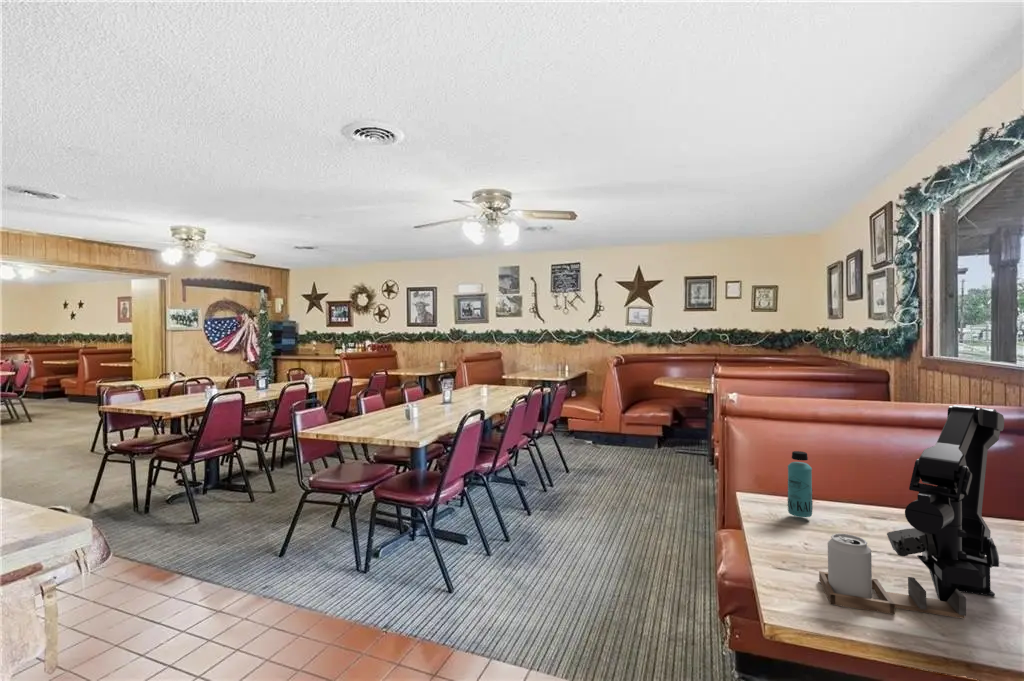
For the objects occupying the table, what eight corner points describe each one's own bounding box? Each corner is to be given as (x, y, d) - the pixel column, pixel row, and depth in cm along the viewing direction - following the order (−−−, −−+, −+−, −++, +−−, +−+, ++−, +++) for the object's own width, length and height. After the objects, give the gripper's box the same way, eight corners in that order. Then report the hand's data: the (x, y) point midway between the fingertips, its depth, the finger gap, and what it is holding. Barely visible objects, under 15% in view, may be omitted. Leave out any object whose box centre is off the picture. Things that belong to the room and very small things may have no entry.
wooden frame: (946, 598, 100) (945, 577, 100) (972, 626, 90) (971, 603, 90) (819, 580, 108) (819, 560, 108) (830, 604, 98) (830, 582, 98)
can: (873, 609, 97) (872, 548, 97) (828, 598, 101) (827, 540, 101) (871, 593, 103) (870, 535, 103) (828, 583, 107) (827, 528, 107)
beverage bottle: (789, 513, 150) (788, 448, 151) (815, 518, 146) (813, 451, 146) (785, 519, 145) (784, 452, 145) (811, 524, 141) (810, 455, 141)
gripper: (877, 501, 108) (877, 572, 108) (909, 532, 90) (909, 616, 90) (941, 507, 103) (941, 581, 103) (987, 541, 86) (987, 630, 86)
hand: (942, 600), depth 96 cm, fingers closed, pressing on wooden frame
